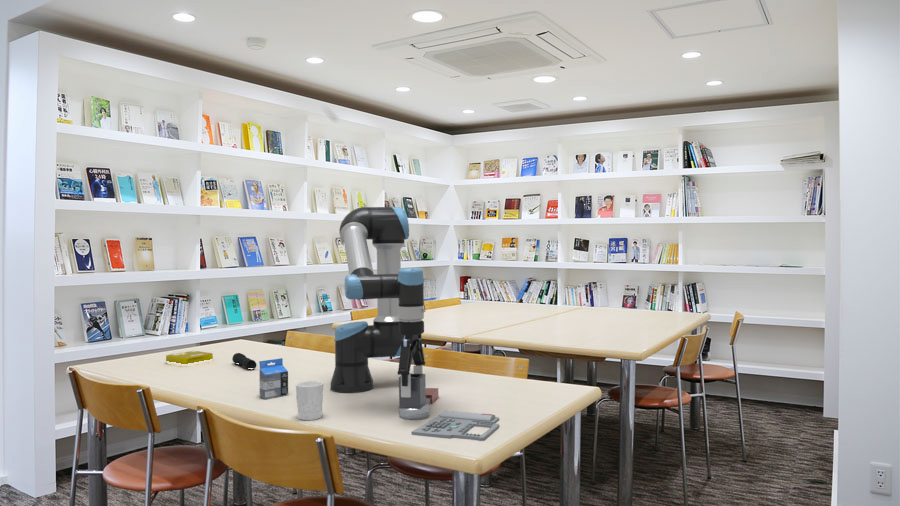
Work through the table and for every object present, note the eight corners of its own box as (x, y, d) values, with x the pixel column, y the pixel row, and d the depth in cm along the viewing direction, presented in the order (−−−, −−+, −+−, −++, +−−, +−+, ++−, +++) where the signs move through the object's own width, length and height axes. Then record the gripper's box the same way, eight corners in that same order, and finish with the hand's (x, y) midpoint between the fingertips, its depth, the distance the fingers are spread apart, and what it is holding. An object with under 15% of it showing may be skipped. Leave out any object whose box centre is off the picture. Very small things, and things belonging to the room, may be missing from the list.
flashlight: (243, 363, 283) (243, 352, 282) (257, 370, 265) (257, 358, 265) (231, 364, 280) (231, 353, 280) (245, 371, 263) (245, 359, 262)
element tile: (184, 368, 273) (184, 357, 273) (164, 365, 282) (164, 354, 282) (214, 362, 286) (214, 352, 286) (194, 359, 294) (194, 349, 294)
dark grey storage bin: (420, 409, 185) (420, 378, 185) (399, 408, 187) (398, 377, 187) (425, 403, 192) (425, 373, 192) (405, 402, 193) (404, 373, 193)
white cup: (298, 414, 193) (298, 381, 192) (325, 413, 193) (324, 380, 193) (294, 421, 185) (294, 387, 185) (322, 420, 185) (321, 386, 185)
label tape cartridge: (264, 399, 212) (264, 362, 212) (259, 397, 215) (258, 361, 215) (288, 395, 218) (288, 359, 218) (283, 393, 221) (282, 357, 221)
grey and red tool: (425, 420, 184) (425, 396, 184) (395, 419, 185) (395, 395, 185) (445, 397, 212) (445, 376, 212) (419, 396, 214) (419, 375, 214)
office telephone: (444, 407, 192) (508, 412, 184) (444, 415, 192) (508, 421, 184) (411, 426, 170) (482, 433, 163) (411, 436, 170) (482, 443, 163)
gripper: (412, 325, 176) (413, 402, 176) (433, 315, 200) (434, 383, 201) (386, 325, 178) (387, 401, 178) (410, 315, 202) (411, 382, 202)
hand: (412, 391), depth 189 cm, fingers open, 13 cm apart
